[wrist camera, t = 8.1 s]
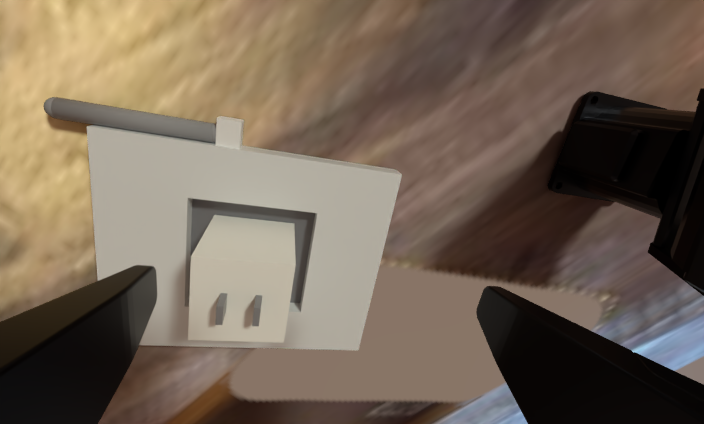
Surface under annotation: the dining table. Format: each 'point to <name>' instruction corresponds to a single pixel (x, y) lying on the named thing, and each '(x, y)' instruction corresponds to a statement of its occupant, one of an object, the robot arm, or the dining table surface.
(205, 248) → the charger brick
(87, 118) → the grey bar
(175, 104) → the dining table surface
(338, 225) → the outlet plate
